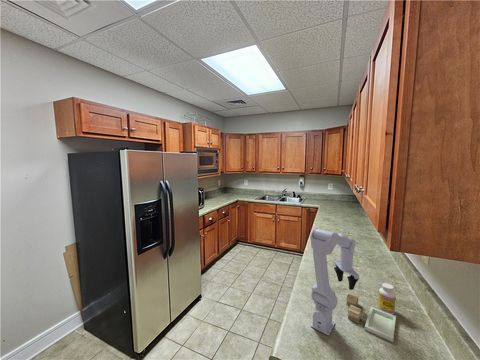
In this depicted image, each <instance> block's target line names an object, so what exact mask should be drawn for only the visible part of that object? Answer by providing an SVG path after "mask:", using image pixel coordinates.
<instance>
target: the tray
mask: <svg viewBox="0 0 480 360" xmlns="http://www.w3.org/2000/svg"><path fill="white" fill-rule="evenodd" d="M396 321H397V316H396V315H394V314H389V313H386V312H383V311H381V310H380V309H379V308H375V307H373V306H370V308H369V311H368V315H367V317H366V321H365V324H364V331H365V332H367V333H369V334H372V335H374V336H377V337H379V338H381V339H383V340H385V341H388V342H390V343H391V344H394V338H395V332H396V331H395V329H396Z"/></svg>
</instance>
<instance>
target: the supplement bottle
mask: <svg viewBox="0 0 480 360" xmlns="http://www.w3.org/2000/svg"><path fill="white" fill-rule="evenodd" d="M394 290H395V289H394V286H393V285H392V284H391V283H387V282H384V283H382V284H381V287H380V288H379V289H378V291H379V292H378V294H379V295H378V310H381V311H383V312H386V313H389V314H391V315H394V314H395V313H396V312H395V311H396V299H397V297H396V296H397V295H396V293H395V291H394Z"/></svg>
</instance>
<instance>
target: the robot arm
mask: <svg viewBox="0 0 480 360" xmlns="http://www.w3.org/2000/svg"><path fill="white" fill-rule="evenodd" d="M309 239H310V246H311V249H312V255H313V265H314V273H315V281H316V282H315V283H314V285H313V286H312V287H311V294H310V295H311V300H312V301H313V304H314V305H315V306H314V307H315V309H314V312H313V313H312V322H311V324H310V327H311V328H313V329H315V330H317V331H319V332H321V333H322V334H324V335H327V336H330V334H331V332H332V330H333V328H334V326H335V324H336V321H335V320H333V310H336V308H337V305H338V297H337V295H336V291H334V289H333V288H332V287H331V285H330V279H329V271H328V261H327V260H328V259H327V255H328V256H329V255H331V254H332V253H333V251H334V249H335V248H336V246H338V247H340V257H339V258H340V260H339V261H340V262H338V261H334V267H333V270H334V272H335V274H336V277H337V281H338V282H343V279H344V273H346V274H349V276H348V275H347V277H346V278H347V281H348V290H350V291H352V290H353V291H354V289H355V287H356V284H357V282H358V281H359V280H360V274H359V273H357V272H356V271H355V270H354V268H355V267H354V266H353V263H354V262H353V260H354V252H355V248H356V240H354V238H351V237H349V236H348V235H345V233H344V232H340V233H338V232H336V231H332V230H327V229H323V228H318V227H314V228H313V229H312V231H311V233H310V237H309Z"/></svg>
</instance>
